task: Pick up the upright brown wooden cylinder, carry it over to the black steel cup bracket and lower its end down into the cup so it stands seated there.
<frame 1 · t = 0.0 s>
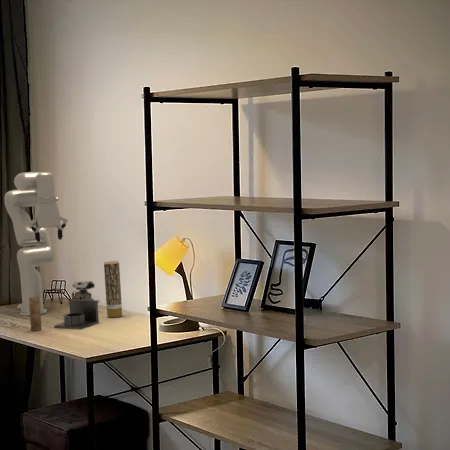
hand: (49, 240, 358), 37 cm above the table, tool pointing down, fingers open, 9 cm apart
brown wooden cylinder: (36, 330, 352), on the table
bracket: (74, 326, 356), on the table
paper tube: (114, 316, 373), on the table
figurine: (85, 313, 385), on the table
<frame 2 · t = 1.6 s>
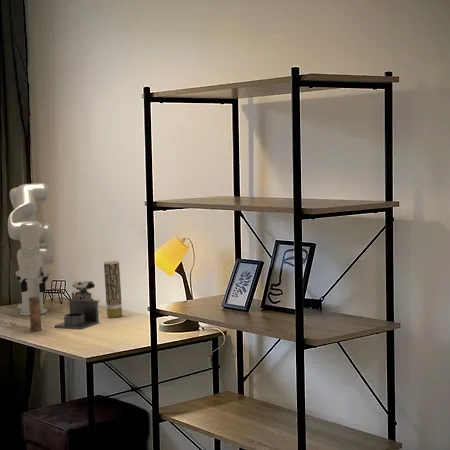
hand: (33, 291, 350), 17 cm above the table, tool pointing down, fingers open, 9 cm apart
nothing on the table moved.
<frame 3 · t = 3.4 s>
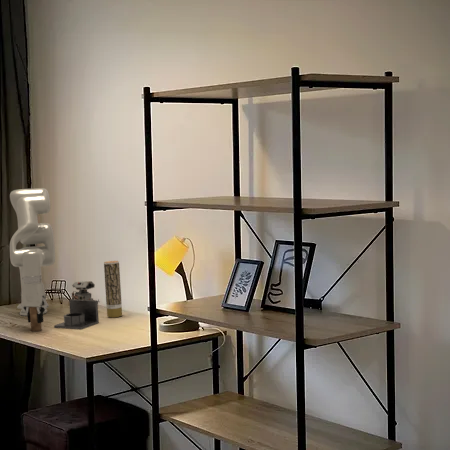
hand: (35, 321, 352), 4 cm above the table, tool pointing down, fingers closed on brown wooden cylinder, 4 cm apart
brown wooden cylinder: (36, 330, 352), on the table, touching gripper
everything else where it was.
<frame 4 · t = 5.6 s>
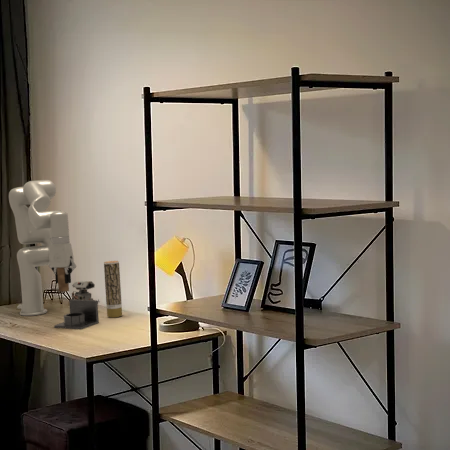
hand: (63, 282, 354), 19 cm above the table, tool pointing down, fingers closed on brown wooden cylinder, 4 cm apart
brown wooden cylinder: (63, 291, 354), point 16 cm above the table, touching gripper
everything else where it was.
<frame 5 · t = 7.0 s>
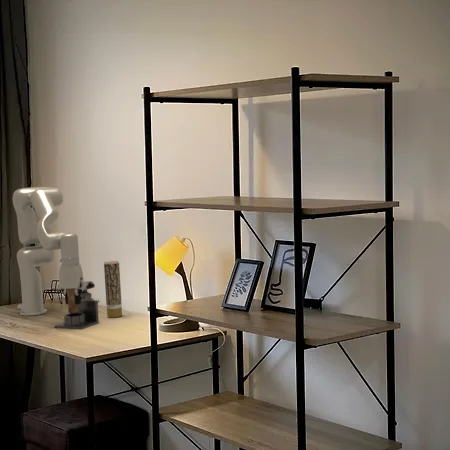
hand: (73, 303, 356), 10 cm above the table, tool pointing down, fingers closed on brown wooden cylinder, 4 cm apart
brown wooden cylinder: (73, 311, 356), point 6 cm above the table, touching gripper
everything else where it was.
when the fingers open (7 cm above the table, at t = 8.0 s): brown wooden cylinder drops 2 cm, resting on bracket.
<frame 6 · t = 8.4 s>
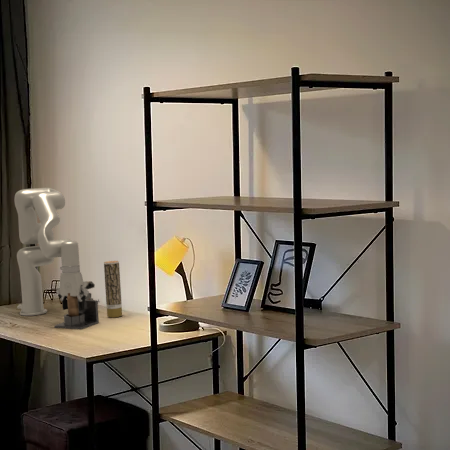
hand: (73, 309, 356), 7 cm above the table, tool pointing down, fingers open, 8 cm apart
brown wooden cylinder: (74, 323, 356), point 1 cm above the table, touching bracket
everything else where it was.
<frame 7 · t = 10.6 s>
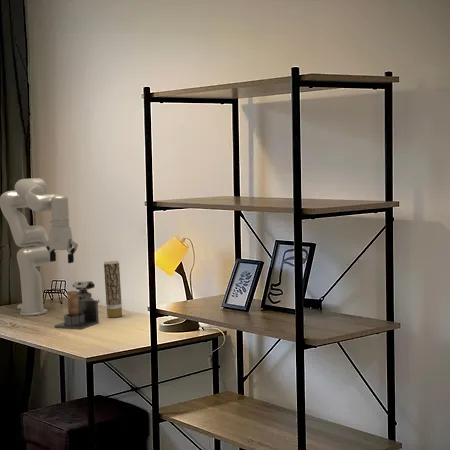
hand: (61, 262, 364), 27 cm above the table, tool pointing down, fingers open, 9 cm apart
nothing on the table moved.
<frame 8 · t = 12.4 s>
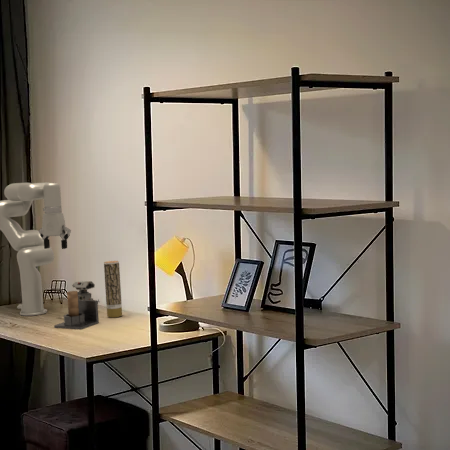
hand: (55, 248, 370), 32 cm above the table, tool pointing down, fingers open, 9 cm apart
nothing on the table moved.
at the end: brown wooden cylinder 0.1 cm off-centre on the bracket, point 1.0 cm above the bracket's base; brown wooden cylinder tilted 0°; the gripper is holding nothing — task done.
